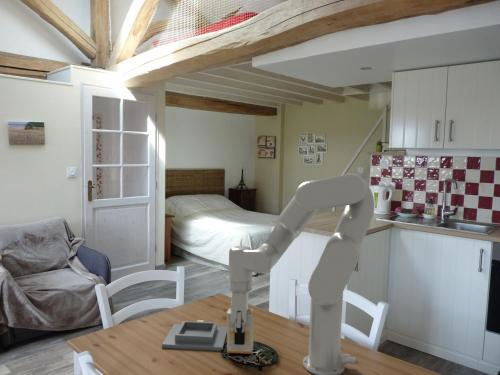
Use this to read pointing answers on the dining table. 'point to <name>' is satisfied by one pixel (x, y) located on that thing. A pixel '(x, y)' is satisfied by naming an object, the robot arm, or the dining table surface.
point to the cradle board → (196, 336)
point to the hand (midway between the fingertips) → (240, 339)
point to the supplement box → (248, 334)
